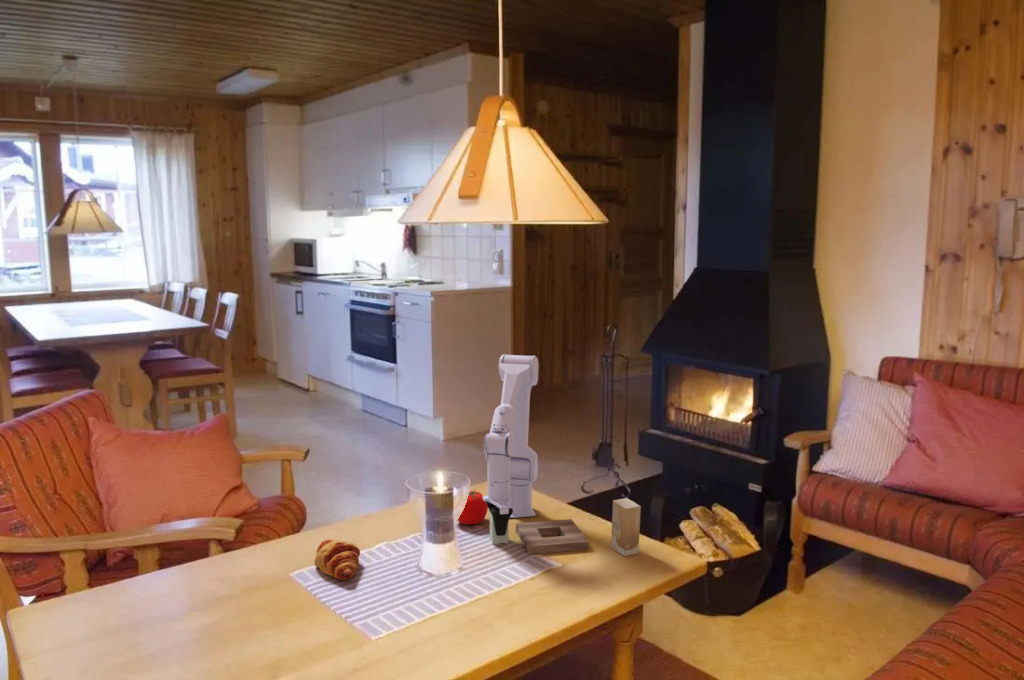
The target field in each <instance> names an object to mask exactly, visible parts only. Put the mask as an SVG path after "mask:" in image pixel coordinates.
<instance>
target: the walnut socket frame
mask: <svg viewBox="0 0 1024 680" xmlns="http://www.w3.org/2000/svg"><path fill="white" fill-rule="evenodd" d="M515 532H516V533H517V535H518V538H519V540H520V541H521V543H522V544H523V547H524V546H525V547H524V548H525V550H526V552H527V554H528V553H529V554H528V555H533V554H532V553H539V554H548V553H549V554H550V553H560V552H561V553H562V552H570V551H571V552H572V551H573V552H574V551H582V550H585V551H586V550H589V547H590V546H589V543H590V541H589V539H588V538H586V536H585V535H584V533H583V532H582V531H581V530H580V528H579V527H578V526H577V524H576V523H575V521H574V520H573V519H572V518H571V519H570V518H569V519H567V518H566V519H554V520H543V521H542V520H541V521H531V522H529V521H528V522H515ZM553 535H554V536H553ZM555 535H560V536H555ZM543 536H544V537H543ZM545 536H549V537H545ZM550 536H551V537H550Z"/></svg>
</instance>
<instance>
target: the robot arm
mask: <svg viewBox="0 0 1024 680" xmlns="http://www.w3.org/2000/svg"><path fill="white" fill-rule="evenodd" d="M539 367H540V364H539V359H538V357H537V356H536V355H520V354H519V355H518V354H517V355H516V354H506V353H504V354H502V355H501V356H500V358H499V360H498V373H499V376H500V380H501V382H502V383H503V384H502V390H501V398H500V400H501V401H500V405H498V406H497V407H496V408H495V409H494V413H493V417H492V420H491V425H490V429H489V433H486V435H485V437H484V441H483V442H484V443H483V452H484V455H485V462H486V465H487V473H486V474H487V480H486V481H487V488H486V489H487V495H483V501H485V502H486V504H487V506H488V511H489V513H490V512H491V514H492V516H493V520H494V525H495V531H496V535H497V536H503V535H505V533H506V529H507V525H508V526H509V520H510V519H515V518H527V517H529V518H530V517H536V516H537V513H536V512H535V510H534V509H533V483H534V482H535V481H536V480H537V478H538V475H539V474H538V473H539V463H538V458H539V457H538V456H539V455H538V454H537V452H536V450H535V451H534V450H533V449H532V448H531V447H530V445H529V429H530V427H529V426H530V404H531V403H530V402H531V392H532V387H534V386H536V385H537V384H538V381H539ZM537 386H538V385H537Z"/></svg>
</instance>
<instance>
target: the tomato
mask: <svg viewBox="0 0 1024 680" xmlns="http://www.w3.org/2000/svg"><path fill="white" fill-rule="evenodd" d="M468 492H469V496H468V499H467V503H466V505H465V508H464V510H463V512H462V514H461V515H460V517H459V519H458V521H457V522H459V523H461V524H463V525H469V526H470V525H471V526H472V525H478V524H480V523H482V522H483V521H484V519H485V518H486V516H487V514H488V511H489V508H488V506H487V504H486V502H485V501H483V496H484V495H483V494H482V493H481V492H480V491H476V490H470V491H468Z"/></svg>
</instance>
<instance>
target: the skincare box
mask: <svg viewBox="0 0 1024 680" xmlns="http://www.w3.org/2000/svg"><path fill="white" fill-rule="evenodd" d="M641 509H642V507H641V505H639V504H638V503H636V502H635V501H633V500H631V499H629V498H628V497H625V498H619V499H613V500H612V514H611V515H612V517H611V519H612V520H611V521H612V523H611V537H610V538H611V539H610V547H611V548H612V549H614V550H615V551H616V552H617V553H619V554H620V555H622V556H624V557H627V556H632V555H637V554H639V551H640V549H639V548H640V527H641V512H642V511H641Z"/></svg>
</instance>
